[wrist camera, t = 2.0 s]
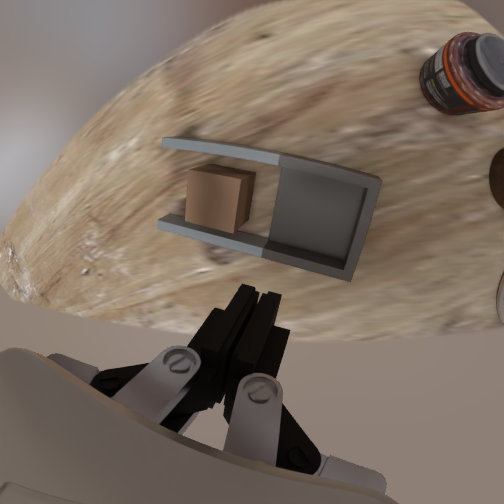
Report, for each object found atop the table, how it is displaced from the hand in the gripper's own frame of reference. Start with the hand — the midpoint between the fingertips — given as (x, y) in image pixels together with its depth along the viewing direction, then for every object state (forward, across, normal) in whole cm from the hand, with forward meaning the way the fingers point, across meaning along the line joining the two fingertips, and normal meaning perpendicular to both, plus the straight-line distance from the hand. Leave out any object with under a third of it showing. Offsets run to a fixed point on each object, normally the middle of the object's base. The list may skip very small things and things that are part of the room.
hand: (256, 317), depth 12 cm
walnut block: (+18, +8, 0) cm, 19 cm away
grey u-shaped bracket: (+18, +5, 0) cm, 18 cm away
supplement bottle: (+18, -11, -16) cm, 26 cm away
